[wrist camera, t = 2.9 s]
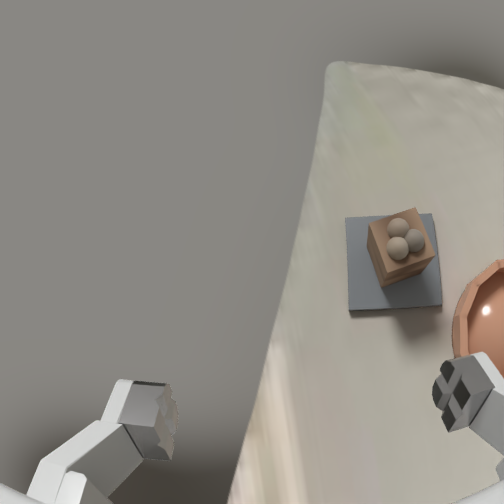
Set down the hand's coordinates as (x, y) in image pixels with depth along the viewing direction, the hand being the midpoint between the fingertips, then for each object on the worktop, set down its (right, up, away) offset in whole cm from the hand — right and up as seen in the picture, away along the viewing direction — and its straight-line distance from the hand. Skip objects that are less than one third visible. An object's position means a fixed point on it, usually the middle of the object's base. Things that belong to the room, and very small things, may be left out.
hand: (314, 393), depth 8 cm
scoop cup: (+16, +3, +29) cm, 33 cm away
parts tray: (+16, +3, +30) cm, 34 cm away
